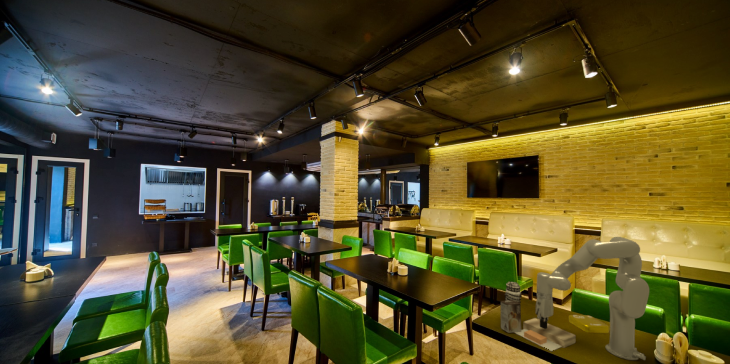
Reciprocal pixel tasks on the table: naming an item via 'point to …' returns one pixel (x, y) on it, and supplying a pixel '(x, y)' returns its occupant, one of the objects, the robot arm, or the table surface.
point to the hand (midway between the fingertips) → (543, 327)
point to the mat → (548, 344)
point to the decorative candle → (513, 292)
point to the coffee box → (510, 316)
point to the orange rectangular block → (535, 337)
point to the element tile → (588, 324)
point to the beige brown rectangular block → (550, 332)
